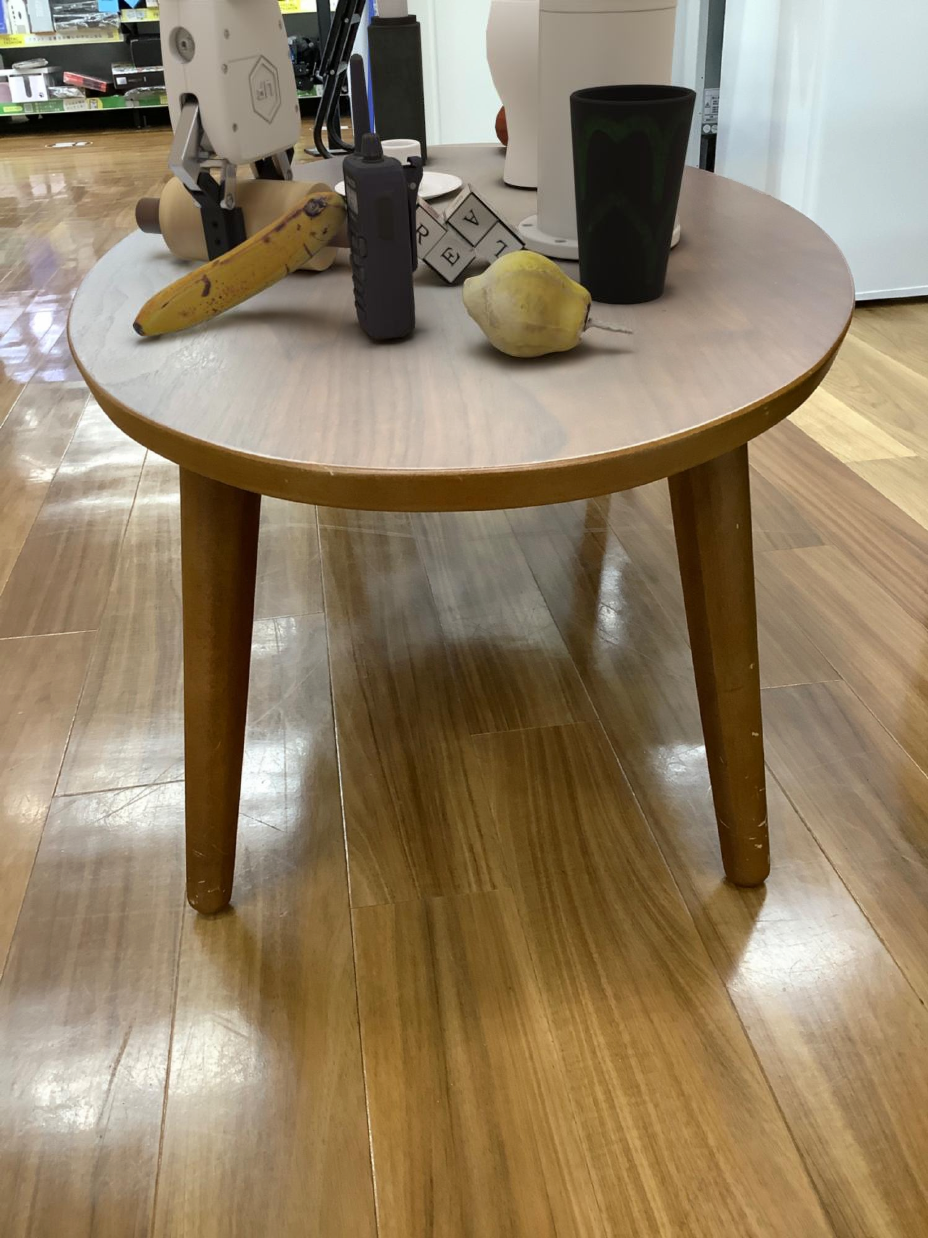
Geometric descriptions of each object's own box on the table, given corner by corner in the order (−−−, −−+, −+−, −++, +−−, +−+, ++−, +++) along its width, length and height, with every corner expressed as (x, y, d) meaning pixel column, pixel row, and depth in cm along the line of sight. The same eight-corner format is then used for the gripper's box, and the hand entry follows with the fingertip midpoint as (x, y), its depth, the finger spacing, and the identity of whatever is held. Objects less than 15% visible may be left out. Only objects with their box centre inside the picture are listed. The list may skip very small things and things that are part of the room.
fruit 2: (637, 370, 56) (460, 353, 55) (615, 363, 62) (454, 347, 61) (653, 261, 54) (470, 241, 54) (629, 264, 60) (464, 246, 59)
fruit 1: (308, 182, 54) (337, 233, 55) (353, 177, 62) (377, 222, 63) (99, 317, 60) (129, 363, 60) (165, 297, 68) (190, 337, 69)
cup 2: (565, 163, 102) (569, -10, 94) (619, 182, 94) (629, -5, 86) (470, 176, 99) (465, -3, 90) (518, 196, 91) (518, 3, 82)
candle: (425, 166, 105) (409, -133, 90) (376, 167, 105) (353, -130, 91) (427, 156, 109) (413, -131, 95) (381, 158, 109) (359, -128, 95)
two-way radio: (350, 318, 64) (324, 51, 56) (417, 309, 65) (401, 46, 57) (371, 346, 60) (345, 61, 51) (441, 336, 61) (428, 55, 52)
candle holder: (367, 214, 88) (363, 161, 86) (316, 190, 97) (310, 141, 94) (485, 195, 93) (484, 144, 90) (425, 173, 101) (423, 126, 99)
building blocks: (472, 289, 76) (391, 214, 72) (521, 234, 74) (441, 154, 70) (477, 311, 71) (391, 233, 68) (530, 254, 69) (445, 170, 66)
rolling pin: (385, 263, 76) (380, 178, 72) (348, 282, 71) (341, 192, 68) (175, 247, 82) (162, 167, 79) (128, 263, 77) (113, 179, 74)
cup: (687, 278, 70) (705, 84, 63) (668, 312, 64) (686, 102, 57) (579, 271, 72) (585, 83, 65) (552, 303, 66) (555, 101, 59)
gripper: (184, -25, 58) (235, 289, 68) (325, -39, 71) (350, 226, 81) (80, -22, 60) (144, 280, 71) (235, -36, 73) (270, 221, 84)
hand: (254, 249), depth 76 cm, fingers closed on rolling pin, 6 cm apart
